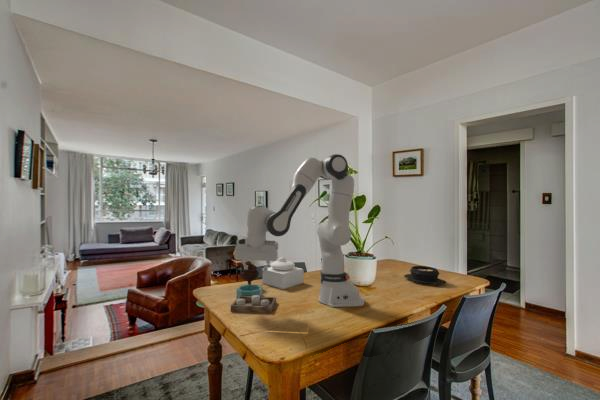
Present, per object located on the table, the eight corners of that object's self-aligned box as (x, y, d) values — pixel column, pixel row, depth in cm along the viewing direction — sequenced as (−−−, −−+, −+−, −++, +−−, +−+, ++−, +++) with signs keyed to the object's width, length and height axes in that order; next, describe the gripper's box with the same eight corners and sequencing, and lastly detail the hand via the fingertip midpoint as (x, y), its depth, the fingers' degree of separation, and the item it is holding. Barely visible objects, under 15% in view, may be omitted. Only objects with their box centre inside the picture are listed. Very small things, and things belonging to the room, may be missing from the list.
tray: (276, 303, 137) (276, 297, 137) (271, 314, 124) (271, 307, 124) (239, 302, 138) (239, 296, 138) (230, 312, 125) (230, 305, 125)
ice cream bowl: (255, 291, 155) (255, 264, 155) (236, 290, 157) (236, 263, 157) (262, 286, 165) (262, 260, 165) (243, 285, 167) (244, 259, 167)
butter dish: (303, 283, 173) (303, 256, 173) (282, 289, 159) (282, 261, 160) (282, 278, 184) (282, 253, 185) (261, 283, 171) (261, 257, 171)
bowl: (263, 294, 151) (263, 284, 151) (258, 301, 139) (258, 292, 139) (241, 293, 152) (241, 284, 152) (234, 300, 140) (234, 291, 140)
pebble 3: (269, 308, 129) (269, 299, 129) (268, 311, 126) (268, 302, 126) (261, 308, 130) (261, 299, 130) (259, 311, 126) (259, 302, 126)
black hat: (397, 279, 182) (397, 266, 182) (413, 275, 194) (413, 263, 194) (436, 289, 162) (436, 274, 163) (451, 284, 174) (452, 270, 174)
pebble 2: (260, 303, 135) (260, 295, 135) (258, 306, 132) (258, 297, 132) (252, 303, 136) (252, 294, 136) (250, 306, 132) (250, 297, 132)
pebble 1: (246, 307, 130) (246, 298, 130) (243, 310, 127) (243, 301, 127) (237, 307, 131) (238, 298, 131) (235, 310, 127) (235, 301, 127)
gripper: (279, 239, 136) (278, 269, 136) (237, 238, 138) (236, 267, 138) (277, 241, 130) (276, 272, 130) (233, 240, 132) (232, 270, 132)
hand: (255, 269), depth 134 cm, fingers open, 8 cm apart
